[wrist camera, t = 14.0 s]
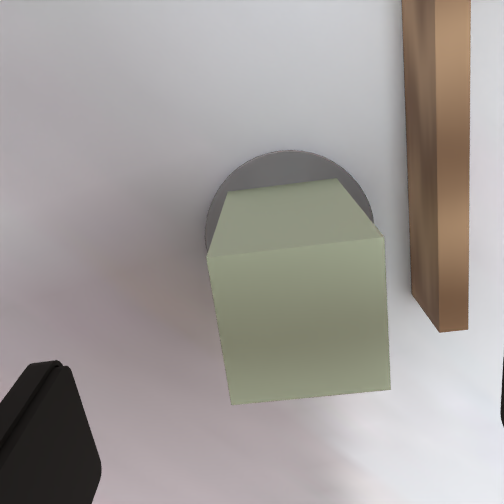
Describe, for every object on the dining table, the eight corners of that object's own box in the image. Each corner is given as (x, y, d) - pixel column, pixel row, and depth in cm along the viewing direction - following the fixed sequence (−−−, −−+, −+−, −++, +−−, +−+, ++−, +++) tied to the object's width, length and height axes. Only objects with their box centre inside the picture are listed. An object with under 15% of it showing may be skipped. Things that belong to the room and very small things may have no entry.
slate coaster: (193, 162, 22) (191, 164, 22) (366, 139, 22) (368, 140, 21) (220, 316, 25) (219, 322, 24) (376, 298, 24) (378, 303, 24)
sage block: (227, 191, 22) (206, 257, 14) (336, 178, 22) (384, 236, 13) (242, 290, 24) (231, 405, 15) (344, 279, 23) (390, 389, 15)
